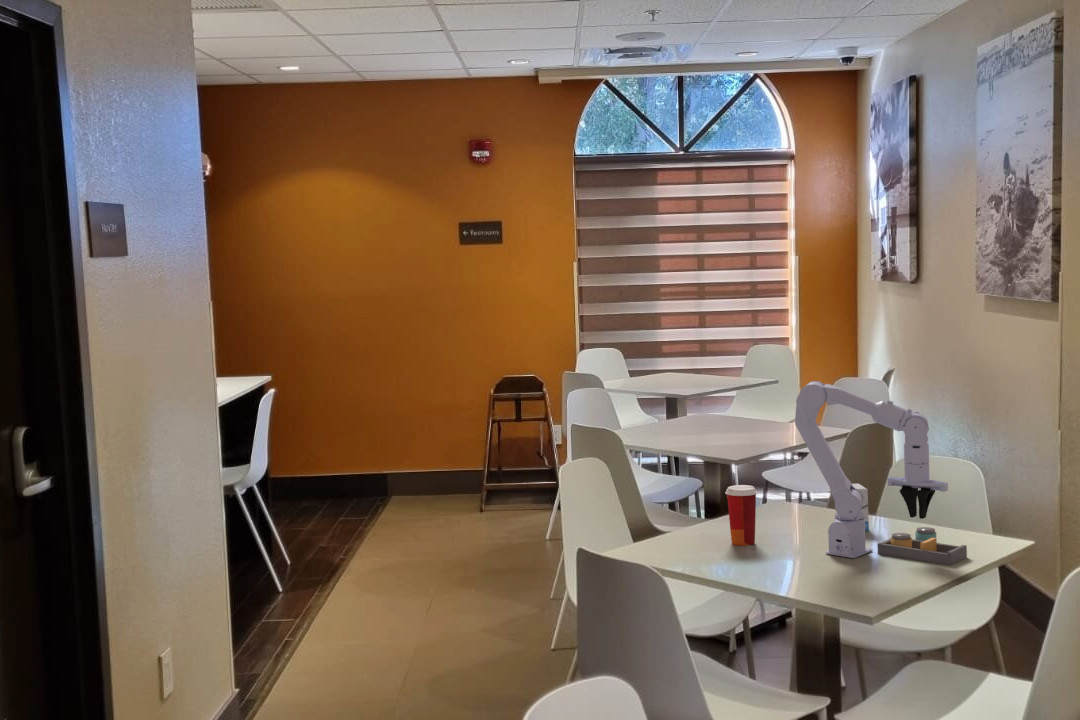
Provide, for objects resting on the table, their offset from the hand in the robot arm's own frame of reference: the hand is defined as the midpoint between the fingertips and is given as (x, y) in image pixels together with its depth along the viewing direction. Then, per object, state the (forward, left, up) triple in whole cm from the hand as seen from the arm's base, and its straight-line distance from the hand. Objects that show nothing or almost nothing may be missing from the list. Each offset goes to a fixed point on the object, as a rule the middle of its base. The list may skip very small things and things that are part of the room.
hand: (918, 517), depth 248 cm
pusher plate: (0, -2, -9) cm, 10 cm away
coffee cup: (-15, +42, -10) cm, 45 cm away
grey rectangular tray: (0, 0, -9) cm, 9 cm away
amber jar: (0, +5, -10) cm, 11 cm away
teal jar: (+9, +3, -10) cm, 13 cm away
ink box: (+17, +27, -10) cm, 33 cm away
